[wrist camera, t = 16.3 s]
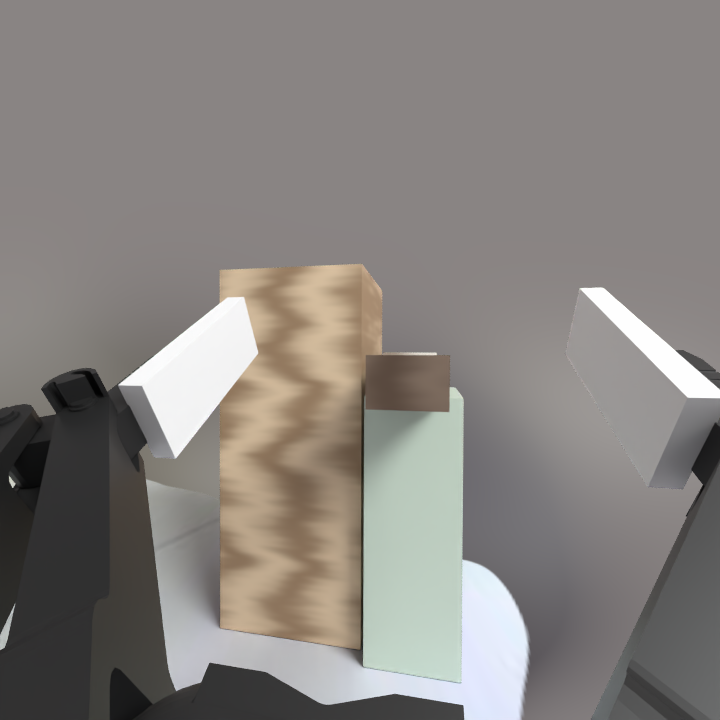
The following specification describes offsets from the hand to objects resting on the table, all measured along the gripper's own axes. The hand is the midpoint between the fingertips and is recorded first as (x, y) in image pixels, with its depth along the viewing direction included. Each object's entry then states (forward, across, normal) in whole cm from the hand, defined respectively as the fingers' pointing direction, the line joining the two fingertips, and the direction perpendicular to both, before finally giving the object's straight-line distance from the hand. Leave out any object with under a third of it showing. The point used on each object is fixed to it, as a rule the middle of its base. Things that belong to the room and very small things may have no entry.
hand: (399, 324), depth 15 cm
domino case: (+12, 0, -12) cm, 17 cm away
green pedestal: (+2, 0, -29) cm, 29 cm away
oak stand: (+4, -10, -31) cm, 32 cm away
